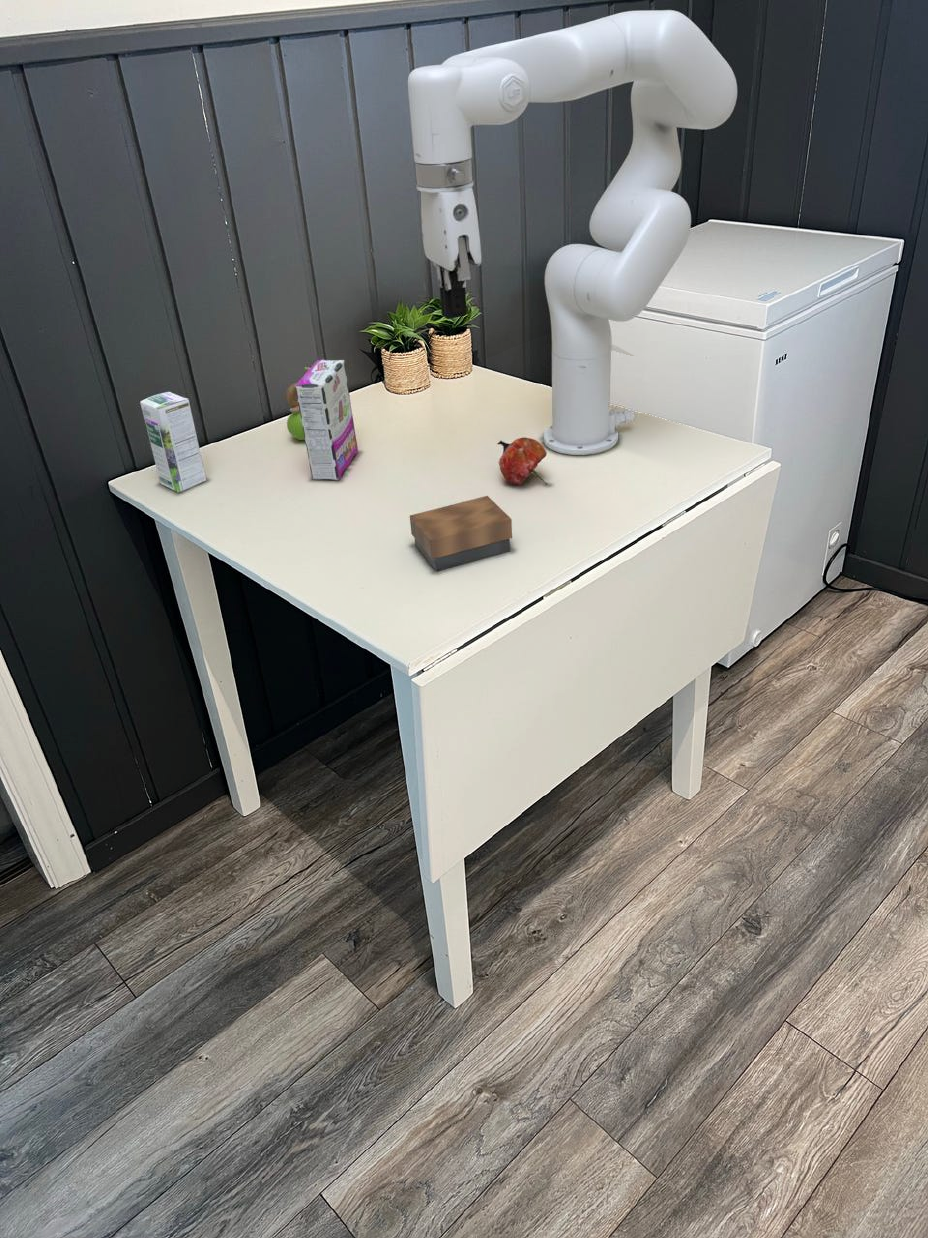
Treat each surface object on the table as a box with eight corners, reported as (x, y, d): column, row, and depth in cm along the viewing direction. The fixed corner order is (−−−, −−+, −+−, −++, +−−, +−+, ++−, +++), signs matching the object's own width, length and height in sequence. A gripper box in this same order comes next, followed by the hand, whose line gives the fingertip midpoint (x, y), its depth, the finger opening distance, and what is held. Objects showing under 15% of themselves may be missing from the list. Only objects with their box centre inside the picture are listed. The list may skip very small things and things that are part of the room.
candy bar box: (331, 451, 163) (317, 358, 154) (358, 452, 162) (346, 358, 153) (309, 480, 154) (293, 383, 145) (339, 481, 153) (324, 384, 144)
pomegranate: (549, 485, 152) (505, 441, 153) (571, 460, 146) (525, 414, 147) (523, 508, 148) (478, 463, 149) (544, 483, 142) (498, 436, 143)
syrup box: (159, 484, 156) (136, 400, 148) (189, 471, 160) (169, 389, 152) (178, 493, 153) (156, 408, 145) (208, 480, 157) (189, 396, 148)
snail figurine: (330, 433, 170) (320, 368, 163) (306, 447, 165) (295, 381, 158) (307, 428, 172) (296, 364, 165) (283, 441, 168) (271, 376, 161)
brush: (487, 495, 135) (511, 518, 129) (489, 525, 138) (512, 550, 132) (409, 515, 132) (430, 540, 126) (412, 546, 135) (433, 572, 128)
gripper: (494, 179, 119) (501, 324, 129) (448, 163, 130) (457, 298, 141) (439, 187, 116) (450, 335, 127) (397, 171, 128) (410, 307, 138)
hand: (454, 315), depth 134 cm, fingers closed
